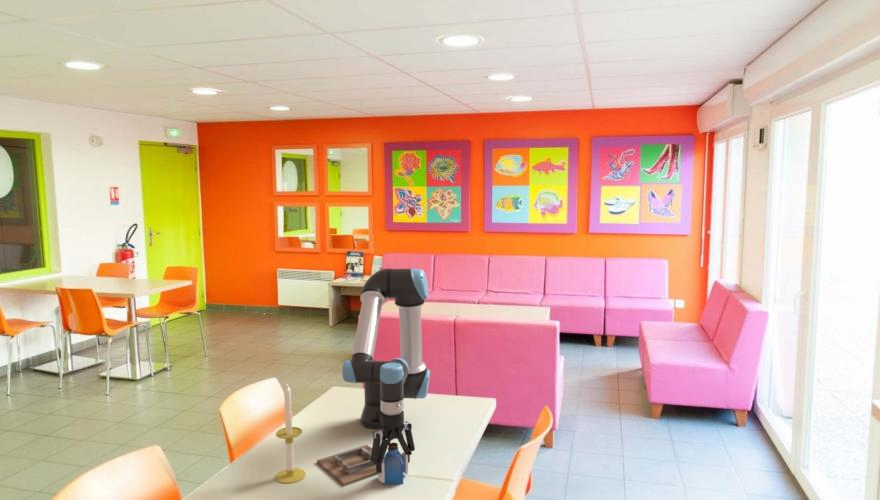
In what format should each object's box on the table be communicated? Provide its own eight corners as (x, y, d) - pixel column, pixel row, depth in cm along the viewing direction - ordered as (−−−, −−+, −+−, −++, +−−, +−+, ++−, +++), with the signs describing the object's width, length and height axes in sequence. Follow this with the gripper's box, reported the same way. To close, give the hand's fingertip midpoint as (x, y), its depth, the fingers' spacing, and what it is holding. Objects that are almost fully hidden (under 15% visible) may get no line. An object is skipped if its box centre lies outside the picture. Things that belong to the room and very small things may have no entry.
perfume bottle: (384, 475, 197) (383, 440, 196) (402, 474, 198) (402, 440, 197) (384, 484, 191) (383, 449, 190) (403, 483, 192) (402, 448, 190)
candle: (277, 486, 191) (273, 389, 187) (273, 472, 200) (269, 379, 196) (308, 479, 195) (305, 385, 191) (302, 466, 204) (299, 375, 200)
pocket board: (316, 462, 206) (316, 454, 206) (366, 447, 218) (366, 439, 218) (344, 486, 190) (343, 477, 190) (396, 467, 202) (395, 459, 202)
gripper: (369, 423, 182) (371, 491, 185) (425, 406, 195) (426, 471, 198) (357, 415, 188) (359, 482, 191) (412, 400, 201) (413, 462, 204)
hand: (393, 476), depth 195 cm, fingers closed on perfume bottle, 8 cm apart
